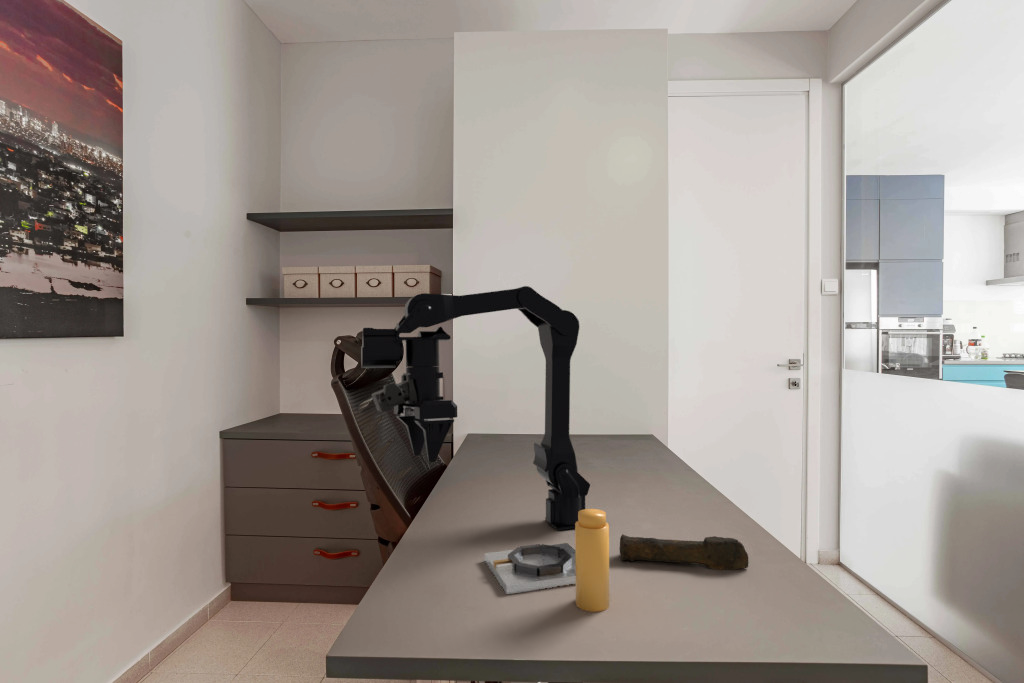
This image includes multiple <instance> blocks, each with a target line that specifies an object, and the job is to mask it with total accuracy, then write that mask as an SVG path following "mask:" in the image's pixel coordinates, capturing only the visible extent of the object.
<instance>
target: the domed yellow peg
mask: <svg viewBox="0 0 1024 683" xmlns="http://www.w3.org/2000/svg"><path fill="white" fill-rule="evenodd" d="M574 529H575V530H574V532H575V533H574V534H575V539H574V540H575V544H574V545H575V548H574V550H575V569H576V584H575V606H576V607H578V608H579V609H580V610H582V611H586V612H590V613H591V612H592V613H598V612H599V613H600V612H603V611H606V610H607V609H609V607H610V525H609V523H608V522H607V513H606V511H604V510H602V509H598V508H597V509H596V508H585V509H583V510H580V511H579V512H578V521H577V522H576V523H575V528H574Z"/></svg>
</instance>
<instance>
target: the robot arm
mask: <svg viewBox="0 0 1024 683" xmlns="http://www.w3.org/2000/svg"><path fill="white" fill-rule="evenodd" d="M510 310H518V311H519V312H521V314H522V315H523V316H524V317H525V318H526V319H527V320H528V321H529V322H530V323H531V324H532V325H534V326H535V327H536V328H538V329H537V330H538V336H539V343H540V347H541V349H542V352H543V354H544V358H545V389H544V390H545V392H544V396H545V397H544V409H545V410H544V434H543V437H542V440H541V443H536V442H535V443H533V448H534V449H533V450H534V459H533V462H532V464H533V465H534V466H536V472H537V473H538V474H539V476H541V478H543V479H544V480H545V482H546V485H547V487H550V488H551V489H548V491H547V495H548V496H547V498H545V517H544V520H545V521H546V522H547V523H548V524H550V525H551V526H552V527H553V528H554V529H555V530H556V531H563V530H571V529H575V523H576V522H577V521H578V512H579V511H580V510H583V509H586V496H587V495H588V494H589V491H590V487H591V483H590V482H589V481H587V479H585V477H583V476H582V474H580V472H578V469H579V468H578V464H577V463H578V462H577V456H576V452H575V449H574V446H573V443H572V440H571V437H570V416H571V413H570V408H571V406H570V405H571V404H570V402H571V400H570V399H571V398H570V397H571V396H570V395H571V359H572V356H573V354H574V351H575V349H576V346H577V344H578V338H579V334H580V333H579V332H580V321H579V319H578V317H577V315H575V313H573V312H572V311H570V310H566V309H564V310H563V309H562V308H561V307H559V306H558V305H557V304H555V303H554V302H553V301H550V300H549V299H547V297H544V296H543V295H541V294H539V292H537V291H536V290H535V289H533V287H531V286H527V285H524V286H520V287H516V288H510V289H503V290H496V291H487V292H486V291H485V292H479V293H470V294H464V295H453V294H442V293H423V292H422V293H419V294H416V295H414V296H413V297H411V298H409V299H407V302H406V303H405V305H404V309H403V316H402V318H401V319H400V321H399V322H398V323H396V324H395V327H394V328H374V327H363V328H362V340H361V341H362V344H361V345H362V346H360V356H361V357H360V361H361V369H378V368H381V369H382V368H383V369H384V368H385V369H386V368H396V366H397V363H400V362H403V358H404V355H403V354H404V347H403V342H405V373H402V375H401V382H398V383H396V382H390V383H389V384H386V385H383V389H380V390H378V391H375V392H372V393H371V397H372V401H373V403H374V406H375V408H376V411H377V412H380V413H385V412H388V411H390V410H391V409H393V415H396V419H398V420H399V421H401V423H403V425H405V428H406V431H407V434H408V438H409V442H410V446H411V450H412V453H413V456H414V457H415V456H416V457H417V456H421V453H422V451H423V448H424V445H425V450H426V456H427V460H428V461H427V462H429V463H435V462H436V461H437V459H438V456H439V454H440V451H441V449H442V448H443V447H442V446H443V444H444V442H445V439H446V437H447V435H448V433H449V431H450V429H451V427H452V424H454V423H455V419H454V418H458V405H457V404H456V403H455V402H454V401H453V400H451V399H444V396H441V389H440V388H441V386H440V385H441V381H440V380H441V379H444V372H440V342H446V341H450V340H451V339H452V338H451V335H450V334H448V333H447V332H446V331H445V329H443V326H439V327H438V328H436V330H435V331H434V330H431V331H430V330H427V331H426V330H425V331H424V330H423V331H422V330H420V331H418V333H417V336H400V334H411V333H412V332H415V331H416V330H417V329H418V328H419V329H422V328H430V327H433V326H436V325H439V324H442V323H446V322H448V321H451V320H454V319H457V318H461V317H464V316H472V315H479V314H487V313H493V312H494V313H495V312H502V311H510Z"/></svg>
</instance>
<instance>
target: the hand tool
mask: <svg viewBox="0 0 1024 683" xmlns="http://www.w3.org/2000/svg"><path fill="white" fill-rule="evenodd" d="M619 554H620V555H619V556H620V560H621V562H624V561H626V560H629V561H630V562H634V561H654V562H664V563H666V562H667V563H679V564H680V563H681V564H683V563H684V564H695V565H696V564H697V565H702V566H705V567H706V569H709V570H716V571H719V570H720V571H721V570H724V571H726V570H733V571H734V570H741V569H747V568H749V563H750V562H749V554H748V553H747V551H746V549H745V546H744V545H743V543H742V542H741V541H739V540H738V539H736V538H733V537H721V536H707V537H704V539H703V541H702V540H698V541H697V540H679V539H678V540H677V539H664V538H663V539H662V538H661V539H660V538H655V537H642V536H628V535H626V534H625V535H624V534H621V535H620V538H619Z"/></svg>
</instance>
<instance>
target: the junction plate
mask: <svg viewBox="0 0 1024 683" xmlns="http://www.w3.org/2000/svg"><path fill="white" fill-rule="evenodd" d="M485 561H486V562H485ZM484 562H485V564H486V563H487V564H488V565H487V564H486V565H487V567H488V566H489V567H488V569H489V570H490V569H491V570H490V572H491V573H492V572H493V573H492V575H493V574H494V575H495V576H494V575H493V576H494V578H495V577H496V578H497V579H496V578H495V579H496V581H497V580H498V581H499V582H498V581H497V582H498V584H499V583H500V584H499V585H500V587H501V586H502V587H503V588H502V587H501V588H502V590H503V589H504V590H503V591H504V593H505V594H506V595H512V594H518V593H520V594H521V593H525V592H527V593H528V592H533V591H539V589H540V590H546V589H545V588H547V589H553V588H558V587H557V586H560V587H564V586H563V585H567V586H570V585H569V584H573V585H576V569H575V548H573V547H572V546H571V545H570V544H569V543H567V542H565V543H564V542H563V543H558V544H557V543H556V544H543V543H542V544H540V543H537V544H529V545H521V546H518V547H516V548H515V549H509V550H508V549H507V550H501V551H493V552H485V553H484ZM552 587H553V588H552Z"/></svg>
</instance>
